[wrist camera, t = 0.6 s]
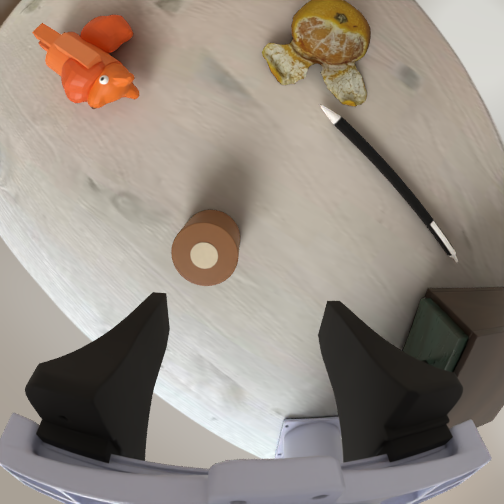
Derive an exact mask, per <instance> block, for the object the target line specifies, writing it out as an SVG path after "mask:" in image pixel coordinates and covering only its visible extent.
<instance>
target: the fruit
mask: <svg viewBox="0 0 504 504" xmlns="http://www.w3.org/2000/svg"><path fill="white" fill-rule="evenodd" d="M291 27H292V36H293V40H292V41H291V43H290V44H285V45H279V44H274V43H268V44H267V45H266V46H265V47H264V49H263V51H262V54H263V57H264V58H265V59H266V60H267V63H268V65H269V68H270V70H271V72H272V74H273V75H274V76H275V77H276V79H277V81H278V82H280V84H282V85H288V84H291V83H293V84H296V82H297V81H298V80H300V79H304V78H305V77H306V73H307V70H308V68H309V66H311V65H313V64H316V63H318V64H320V65H321V66H322V68H323V70H322V72H320V73H321V75H322V77H323V79H324V82H325V83H326V85H327V88H328V89H329V90H330V91H331V92H332V93H333V94H334V96H335V97H336V98H338V99H339V101H340V102H341V103H342V104H344V105H345V104H347V105H350V106H357V105H361V104H362V103H363V102H365V101H366V97H367V91H366V88H365V84H364V82H363V78H362V76H361V75H360V73H359V72H358V71H357V69H356V65H355V62H356V61H358V60H359V59H361V58H362V57H363V56H364V55H365V53H366V52H367V49H368V47H369V43H370V38H371V37H370V34H371V32H370V26H369V24H368V22H367V20H366V19H365V18H364V16H363V15H362V13H361V12H360V11H359V10H357V9H356V8H355V7H353V6H352V5H351V4H349V3H347V2H346V1H344V0H311V1H309V2H308V3H306V4H305V5H304V6H303V7H302V8H301V9H300V10H299V11H298V12H297V13H296V14H295V15H294V17H293V22H292V26H291Z"/></svg>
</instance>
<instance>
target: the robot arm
mask: <svg viewBox="0 0 504 504" xmlns="http://www.w3.org/2000/svg"><path fill="white" fill-rule="evenodd" d="M169 330H170V328H169V318H168V308H167V297H166V293H155V292H153V293H152V294H151V295H150V296H148V297H147V298H146V299H145V300H144V301H143V302H142V303H141V304H140V305H139V306H138V307H137V308H136V309H135V310H134V311H133V312H132V313H130V314H129V315H128V316H127V317H126V318H125V319H124V320H122V321H121V322H120V323H119V324H118V325H116V326H115V327H114V328H113V329H111V330H110V331H109V332H107V333H106V334H104V335H103V336H101V337H100V338H98V339H96V340H95V341H93V342H91V343H89V344H88V345H86V346H84V347H82V348H80V349H78V350H76V351H74V352H72V353H69V354H67V355H65V356H62V357H59V358H57V359H53V360H50V361H47V362H44V363H40V364H39V365H38V366H37V368H36V369H35V371H34V373H33V375H32V376H31V378H30V380H29V382H28V384H27V385H26V388H25V392H26V396H27V397H28V400H29V401H30V403H31V404H32V406H33V407H34V409H35V410H36V411H37V413H38V414H39V416H40V417H41V418H42V421H41V423H40V425H39V424H37V423H36V422H34V421H32V420H30V419H28V418H26V417H23V416H21V415H19V414H16V413H12V415H11V417H10V419H9V421H8V423H7V425H6V427H5V429H4V432H3V434H2V436H1V438H0V465H1V466H2V467H3V468H4V469H5V470H7V471H8V472H9V473H10V474H11V475H13V476H14V477H15V478H17V479H18V480H19V481H20V482H22V483H23V484H25V485H27V486H29V487H30V488H32V489H35V490H37V491H38V492H41V493H43V494H45V495H47V496H49V497H51V498H54V499H56V500H58V501H60V502H62V503H65V504H419V503H421V502H424V501H426V500H428V499H430V498H432V497H435V496H437V495H439V494H441V493H443V492H445V491H448V490H450V489H452V488H453V487H456V486H458V485H459V484H461V483H462V482H464V481H465V480H466V479H468V478H469V477H470V476H472V475H473V474H474V473H476V472H477V471H478V470H479V469H481V468H482V467H483V466H484V465H486V464H487V463H488V462H489V461H490V460H491V456H490V454H489V452H488V450H487V448H486V446H485V444H484V442H483V440H482V438H481V436H480V434H479V432H478V430H477V428H476V426H475V424H474V422H473V420H472V419H470V420H467V421H465V422H462V423H460V424H457V425H455V426H453V427H452V428H450V429H449V428H448V426H447V424H448V423H449V421H450V420H449V418H448V416H447V414H448V413H449V412H450V411H451V410H452V408H453V407H454V406H455V405H456V403H457V402H458V401H459V399H460V398H461V396H462V393H463V386H462V384H461V383H460V381H459V379H458V378H457V376H456V375H455V373H452V372H449V371H446V370H443V369H439V368H436V367H434V366H431V365H429V364H427V363H424V362H422V361H420V360H418V359H416V358H414V357H412V356H410V355H408V354H406V353H405V352H403V351H401V350H400V349H398V348H397V347H395V346H393V345H392V344H390V343H389V342H388V341H386V340H385V339H383V338H382V337H381V336H380V335H378V334H377V333H376V332H374V331H373V330H372V329H371V328H370V327H369V326H367V325H366V324H365V323H364V322H363V321H362V320H361V319H359V318H358V317H357V316H356V315H355V314H354V313H353V312H352V311H351V310H350V309H348V308H347V307H346V306H345V305H344V304H343V303H341V302H340V301H327V304H326V308H325V312H324V316H323V319H322V323H321V326H320V330H319V334H318V337H319V343H320V349H321V354H322V357H323V360H324V363H325V366H326V369H327V372H328V375H329V379H330V382H331V385H332V388H333V391H334V395H335V399H336V404H337V410H338V415H339V417H326V418H310V419H286V420H284V421H283V425H282V429H281V434H280V438H279V442H278V446H277V450H276V454H275V459H237V460H225V461H222V462H219V463H215V464H214V465H213V466H212V467H211V468H210V469H203V468H193V467H183V466H175V465H167V464H160V463H154V462H148V461H145V449H146V438H147V428H148V420H149V413H150V406H151V399H152V394H153V390H154V386H155V383H156V379H157V376H158V373H159V370H160V366H161V363H162V360H163V357H164V354H165V350H166V346H167V341H168V335H169ZM341 438H342V439H341Z"/></svg>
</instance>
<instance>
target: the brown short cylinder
mask: <svg viewBox="0 0 504 504" xmlns="http://www.w3.org/2000/svg"><path fill="white" fill-rule="evenodd" d="M239 245H240V232H239V229H238V226H237V224H236V223H235V221H234V220H233V219H232V218H231V217H230V216H228V215H227V214H225V213H224V212H221V211H218V210H204V211H201V212H199V213H197V214H195V215H194V216H193V217H191V219H190V220H189V221H188V222H187V223H186V225H185V226H184V227H183V228H182V229H181V231H180V232H179V233H178V234H177V236H176V237H175V239H174V242H173V245H172V260H173V263H174V266H175V268H176V269H177V271H178V272H179V273H180V275H181V276H182V277H184V278H185V279H186V280H188V281H189V282H191V283H194V284H197V285H201V286H212V285H216V284H219V283H221V282H223V281H225V280H226V279H228V278H229V277H230V276H231V274H232V273H233V272H234V270H235V268H236V266H237V262H238V255H239Z"/></svg>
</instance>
